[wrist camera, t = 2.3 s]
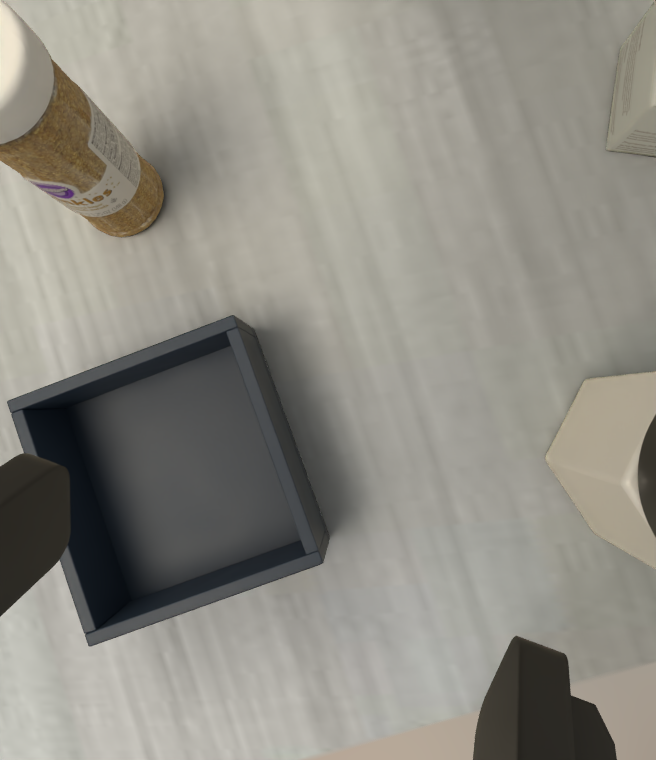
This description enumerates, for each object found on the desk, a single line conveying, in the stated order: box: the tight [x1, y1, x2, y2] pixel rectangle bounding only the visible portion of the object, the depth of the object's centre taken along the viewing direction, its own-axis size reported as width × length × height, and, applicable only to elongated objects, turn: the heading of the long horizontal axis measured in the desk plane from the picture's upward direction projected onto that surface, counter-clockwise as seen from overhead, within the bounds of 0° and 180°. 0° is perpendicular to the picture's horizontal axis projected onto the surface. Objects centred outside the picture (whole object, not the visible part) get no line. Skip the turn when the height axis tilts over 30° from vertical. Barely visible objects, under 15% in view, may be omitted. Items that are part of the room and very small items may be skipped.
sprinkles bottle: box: [0, 0, 164, 237], centre depth 25 cm, size 5×5×14 cm
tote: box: [7, 315, 330, 646], centre depth 29 cm, size 12×11×5 cm
